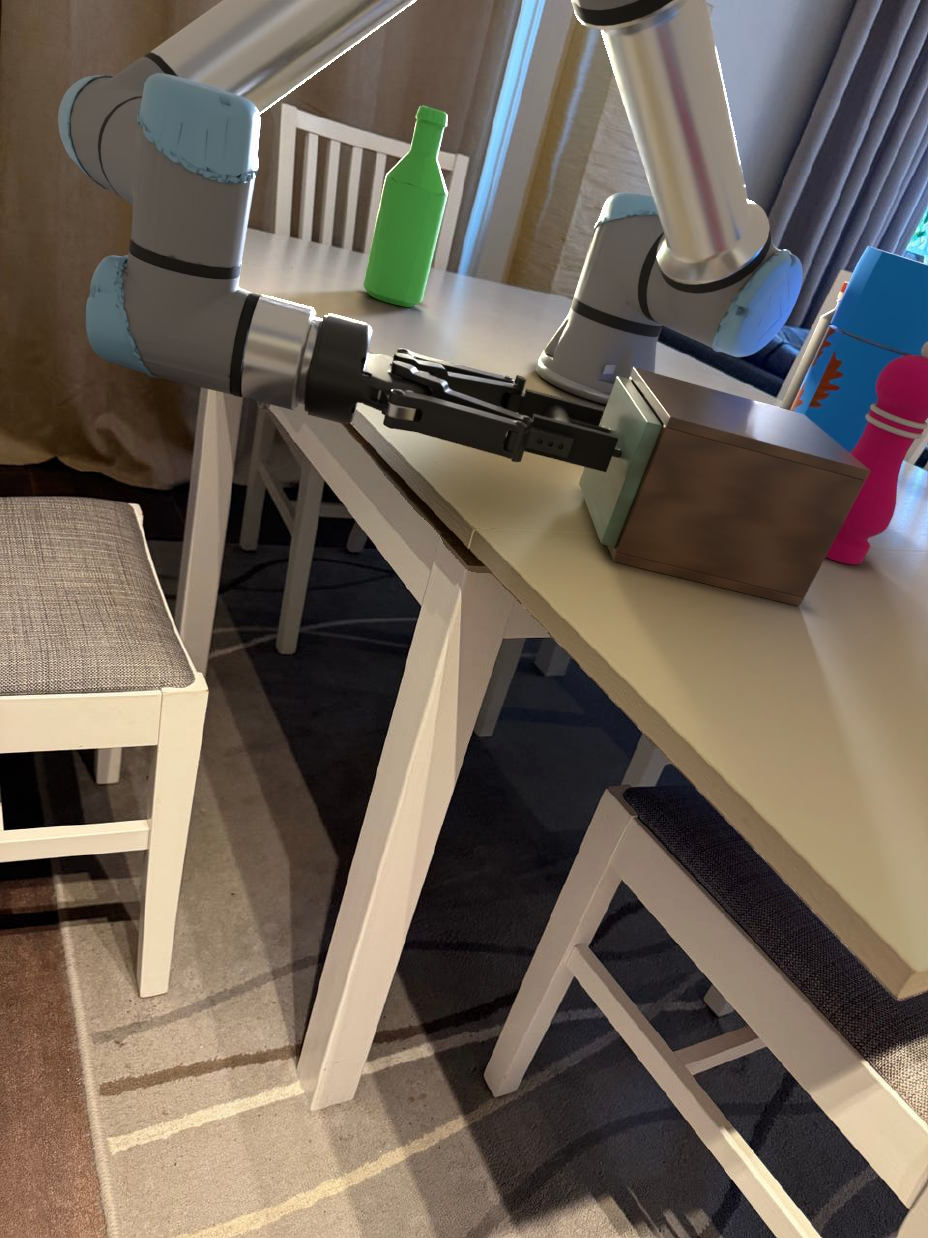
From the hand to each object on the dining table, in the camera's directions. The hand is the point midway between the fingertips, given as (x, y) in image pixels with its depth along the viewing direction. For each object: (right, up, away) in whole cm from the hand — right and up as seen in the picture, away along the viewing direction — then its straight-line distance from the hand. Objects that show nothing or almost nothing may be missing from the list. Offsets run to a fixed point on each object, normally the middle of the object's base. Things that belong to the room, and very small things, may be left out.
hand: (603, 439), depth 70 cm
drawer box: (+8, -8, +5) cm, 12 cm away
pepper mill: (+24, -8, +15) cm, 29 cm away
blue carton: (+27, 0, +30) cm, 41 cm away
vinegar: (+37, +14, +60) cm, 72 cm away
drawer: (+4, -6, +4) cm, 8 cm away
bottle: (-22, +32, +61) cm, 72 cm away
